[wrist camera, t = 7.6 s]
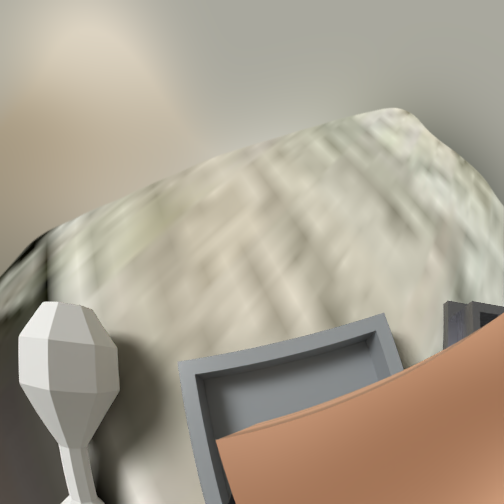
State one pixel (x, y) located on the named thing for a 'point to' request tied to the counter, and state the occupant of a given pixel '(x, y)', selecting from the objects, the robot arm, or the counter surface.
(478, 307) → the grey square base plate
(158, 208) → the counter surface
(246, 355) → the tray
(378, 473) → the block
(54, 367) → the chicken leg
